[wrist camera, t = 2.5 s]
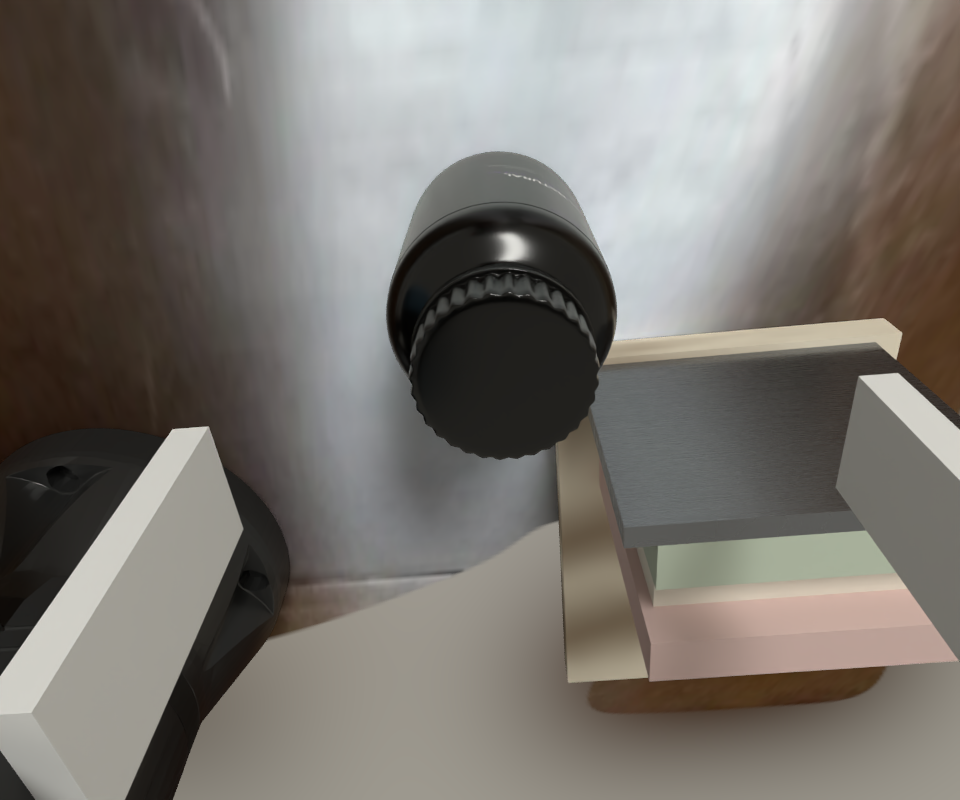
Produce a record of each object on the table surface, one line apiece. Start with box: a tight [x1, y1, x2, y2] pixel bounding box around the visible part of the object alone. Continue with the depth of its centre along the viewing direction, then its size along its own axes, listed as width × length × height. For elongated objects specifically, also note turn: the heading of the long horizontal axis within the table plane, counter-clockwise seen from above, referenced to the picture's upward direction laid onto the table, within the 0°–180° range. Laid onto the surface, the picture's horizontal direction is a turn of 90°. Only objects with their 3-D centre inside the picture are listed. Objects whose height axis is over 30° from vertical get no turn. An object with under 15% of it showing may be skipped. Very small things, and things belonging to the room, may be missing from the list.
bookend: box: [588, 342, 960, 548], centre depth 25 cm, size 1×12×10 cm, turn 95°
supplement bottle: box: [386, 152, 617, 460], centre depth 23 cm, size 7×7×12 cm
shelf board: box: [555, 318, 902, 683], centre depth 34 cm, size 20×14×2 cm
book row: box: [599, 458, 959, 682], centre depth 26 cm, size 5×10×10 cm, turn 95°
